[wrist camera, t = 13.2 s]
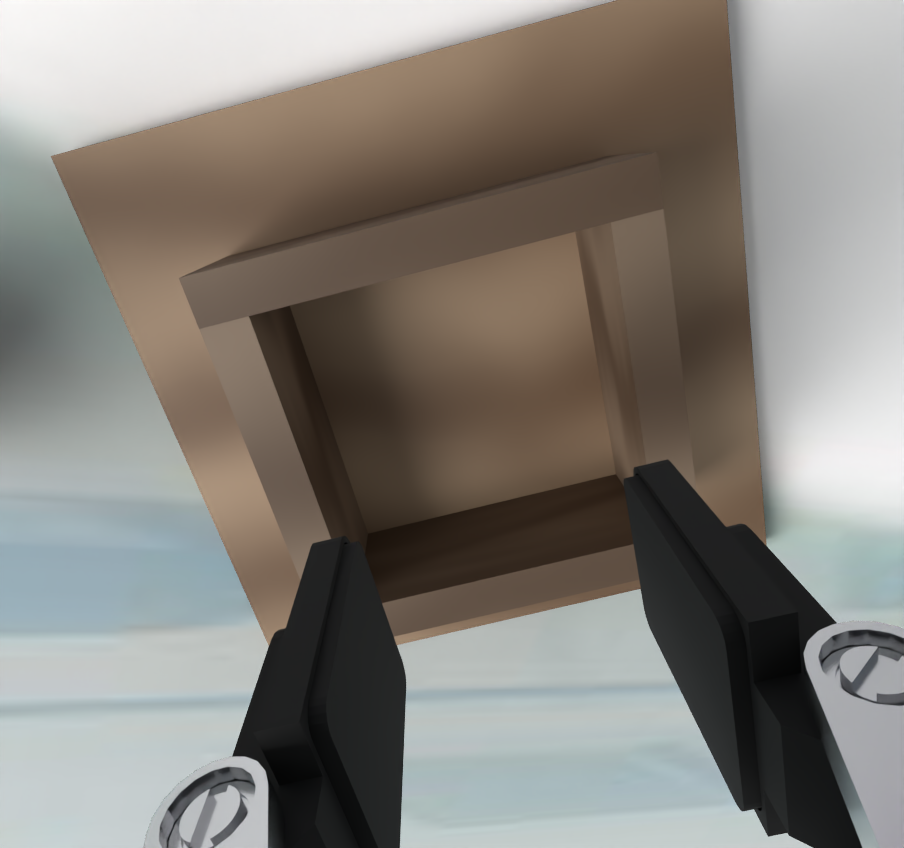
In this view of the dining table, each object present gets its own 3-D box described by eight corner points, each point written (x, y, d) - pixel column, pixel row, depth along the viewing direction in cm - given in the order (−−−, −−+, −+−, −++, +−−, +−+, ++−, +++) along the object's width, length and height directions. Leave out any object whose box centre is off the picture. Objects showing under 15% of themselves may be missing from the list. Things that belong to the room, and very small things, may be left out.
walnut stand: (69, 156, 18) (-53, 152, 13) (707, -19, 17) (815, -89, 12) (285, 652, 25) (254, 765, 20) (753, 543, 24) (835, 635, 19)
